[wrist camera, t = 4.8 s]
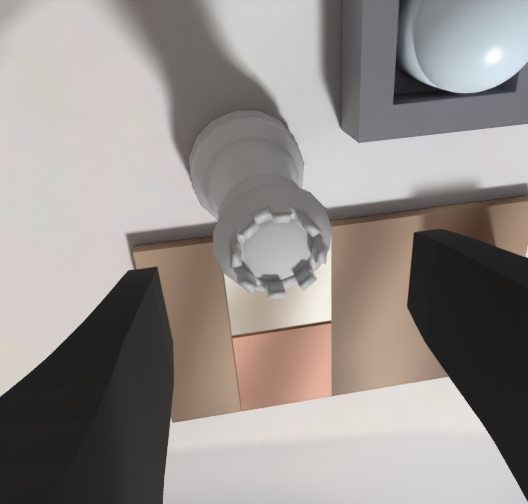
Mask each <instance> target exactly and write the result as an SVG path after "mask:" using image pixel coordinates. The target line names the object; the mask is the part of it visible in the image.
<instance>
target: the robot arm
mask: <svg viewBox="0 0 528 504" xmlns="http://www.w3.org/2000/svg"><path fill="white" fill-rule="evenodd" d="M407 308H408V310H409V312H410V314H411V316H412V318H413V320H414V322H415V325H416V327H417V328H418V330H419V332H420V334H421V336H422V338H423V340H424V342H425V343H426V345H427V346H428V348H429V349H430V351H431V352H432V353H433V355H434V356H435V358H436V359H437V361H438V362H439V363H440V365H441V366H442V368H443V369H444V370H445V372H446V373H447V375H448V376H449V377H450V379H451V380H452V382H453V383H454V384H455V386H456V387H457V389H458V390H459V391H460V393H461V394H462V396H463V397H464V398H465V400H466V401H467V403H468V404H469V405H470V407H471V408H472V410H473V411H474V412H475V414H476V415H477V417H478V418H479V419H480V421H481V422H482V424H483V425H484V427H485V428H486V430H487V431H488V433H489V434H490V436H491V438H492V439H493V441H494V442H495V444H496V446H497V447H498V449H499V451H500V453H501V455H502V456H503V458H504V460H505V462H506V463H507V465H508V467H509V469H510V470H511V472H512V474H513V476H514V477H515V479H516V481H517V483H518V485H519V486H520V488H521V490H522V492H523V494H524V496H525V498H526V499H527V501H528V258H526V257H524V256H521V255H518V254H515V253H512V252H510V251H507V250H504V249H501V248H499V247H496V246H493V245H490V244H487V243H485V242H482V241H479V240H476V239H473V238H471V237H468V236H465V235H462V234H458V233H455V232H452V231H448V230H444V229H433V230H426V231H418V232H414V236H413V246H412V257H411V268H410V279H409V289H408V300H407ZM173 389H174V353H173V339H172V334H171V329H170V324H169V320H168V315H167V310H166V305H165V300H164V296H163V291H162V286H161V281H160V277H159V272H158V267H150V268H143V269H135V270H129V271H128V272H127V273H126V274H125V275H124V276H123V277H122V278H121V279H120V281H119V282H118V283H117V284H116V285H115V286H114V288H113V289H112V290H111V291H110V292H109V294H108V295H107V296H106V297H105V298H104V299H103V300H102V302H101V303H100V304H99V305H98V306H97V307H96V308H95V309H94V311H93V312H92V313H91V314H90V315H89V316H88V317H87V318H86V319H85V321H84V322H83V323H82V324H81V325H80V326H79V327H78V328H77V329H76V330H75V331H74V332H73V333H72V334H71V335H70V336H69V337H68V338H67V339H66V340H65V341H64V342H63V343H62V344H61V345H60V346H59V347H58V348H57V349H56V350H55V351H54V352H53V353H52V354H51V355H49V356H48V357H47V358H46V359H45V360H44V361H43V362H42V363H41V364H39V365H38V366H37V367H36V368H35V369H34V370H33V371H31V372H30V373H29V374H28V375H27V376H25V377H24V378H23V379H22V380H21V381H19V382H18V383H17V384H16V385H14V386H13V387H12V388H11V389H10V390H8V391H7V392H6V393H4V394H3V395H2V396H1V397H0V504H163V488H164V475H165V465H166V456H167V446H168V437H169V428H170V418H171V409H172V399H173Z"/></svg>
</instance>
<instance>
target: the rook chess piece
mask: <svg viewBox="0 0 528 504" xmlns="http://www.w3.org/2000/svg"><path fill="white" fill-rule="evenodd" d="M189 168H190V180H191V182H192V187H193V189H194V191H195V194H196V196H197V198H198V200H199V202H200V204H201V206H202V207H204V208H205V209H206V210H207V211H208V212H209V213H210V214H212V215H213V216H214V217H215V218H216V219H217V220H218V222H217V224H216V226H215V228H214V231H213V254H214V256H215V258H216V260H217V262H218V264H219V266H220V268H221V270H222V272H223V273H224V274H226V275H227V276H228V277H229V278H231V279H232V280H233V281H234V282H235V283H237V284H238V285H239V286H242V287H243V288H244V289H245V290H246V291H248V292H249V293H250V294H251V293H252V292H253V291H254V290H256V291H259V292H263V291H266V295H267V298H268V299H283V298H286V295H285V289H287V288H289V287H292V286H294V285H297V284H298V285H299V286H300V287H301V289H302V290H303V291H305V290H306V289H307V288H308V287H309V286H310V285H312V284H313V283H314V282H315V281H316V280H317V278H316V276H315V274H314V272H315V271H316V270H317V269H318V268H319V267H320V265H321V264H326V260H327V253H328V251H329V249H330V240H331V232H332V227H331V224H330V221H329V218H328V215H327V212H326V209H325V207H324V206H323V205H322V204H321V203H320V202H319V201H318V200H317V199H316V198H315V197H314V196H313V195H312V194H311V193H310V192H308V191H306V190H303V189H301V188H302V182H303V169H304V162H303V159H302V156H301V153H300V150H299V147H298V144H297V142H296V141H295V138H294V136H293V135H292V134H291V132H290V131H289V130H288V129H287V128H286V127H285V126H284V125H283V124H282V123H281V121H280V120H278V119H276V118H274V117H271V116H269V115H267V114H265V113H262V112H260V111H236V110H235V111H233V112H230V113H228V114H226V115H223V116H221V117H218V118H216V119H213V121H212V122H211V123H210V124H209V125H208V126H207V127H206V128H205V129H204V130H203V131H202V132H201V133H200V134H199V135H198V136H197V138H196V141H195V143H194V146H193V148H192V151H191V153H190V156H189Z"/></svg>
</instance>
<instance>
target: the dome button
mask: <svg viewBox="0 0 528 504" xmlns="http://www.w3.org/2000/svg"><path fill="white" fill-rule="evenodd" d="M527 62H528V0H399V14H398V30H397V47H396V63H395V66H396V68H397V69H398V70H399V71H400V72H401V73H402V74H403V75H405V76H406V77H408V78H410V79H412V80H414V81H418V82H421V83H424V84H427V85H430V86H433V87H437V88H440V89H443V90H446V91H450V92H455V93H475V92H481V91H484V90H487V89H490V88H493V87H495V86H498V85H500V84H501V83H503V82H505V81H506V80H508V79H510V78H511V77H512V76H514V75H515V74H516V73H517V72H518V71H519V70H520V69H522V68H523V66H524V65H525V64H526V63H527Z"/></svg>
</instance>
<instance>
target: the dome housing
mask: <svg viewBox="0 0 528 504" xmlns="http://www.w3.org/2000/svg"><path fill="white" fill-rule="evenodd" d="M398 14H399V0H342V56H341V129H342V130H343V131H344V132H346V133H347V134H348V135H349V136H351V137H352V138H353V139H355V140H356V141H357V142H358V143H362V142H370V141H379V140H388V139H397V138H406V137H415V136H423V135H432V134H441V133H450V132H459V131H468V130H477V129H485V128H494V127H503V126H512V125H521V124H528V62H527V63H526V64H525V65H524V66H523V68H522V69H520V70H519V71H518V72H517V73H516V74H515V75H514V76H512V77H511V78H510V79H508V80H506V81H505V82H503V83H501V84H500V85H498V86H495V87H493V88H490V89H487V90H484V91H481V92H475V93H455V92H450V91H446V90H443V89H440V88H437V87H433V86H430V85H427V84H424V83H421V82H418V81H414V80H412V79H410V78H408V77H406V76H405V75H403V74H402V73H401V72H400V71H399V70H398V69H397V68H396V66H395V63H396V47H397V30H398Z"/></svg>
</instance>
